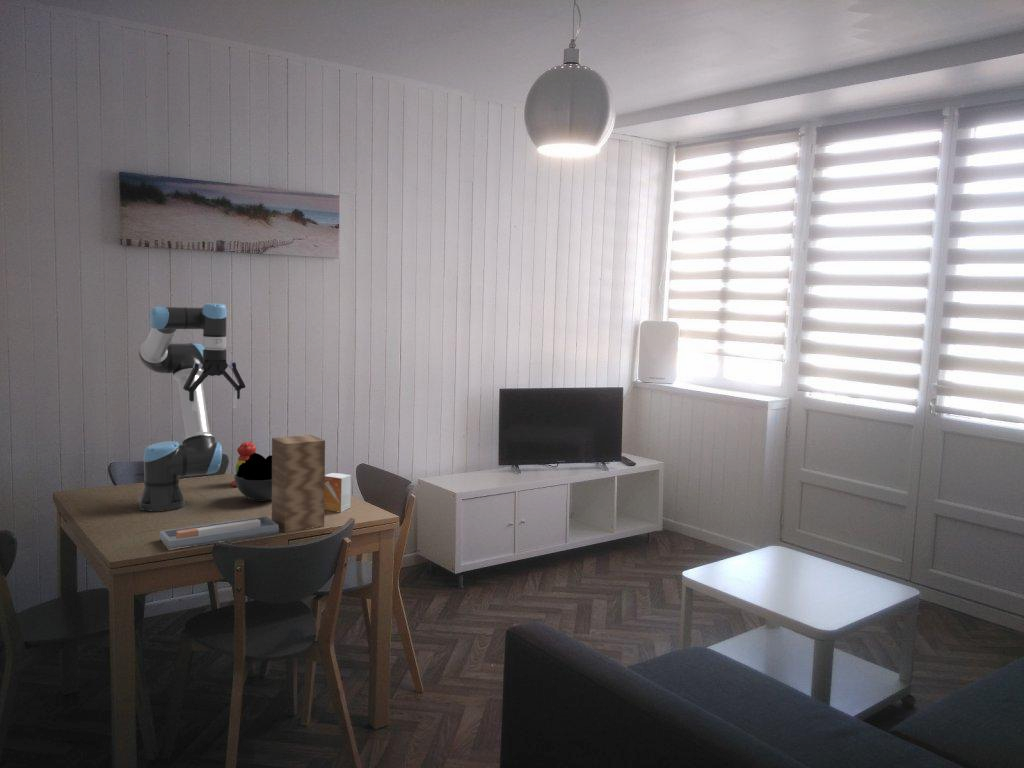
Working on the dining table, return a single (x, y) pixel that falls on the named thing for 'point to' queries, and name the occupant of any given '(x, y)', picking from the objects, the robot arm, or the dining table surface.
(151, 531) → the dining table surface
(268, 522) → the tray
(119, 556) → the dining table surface
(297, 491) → the pedestal
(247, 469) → the coal bowl
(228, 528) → the marker
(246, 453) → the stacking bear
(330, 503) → the small box
